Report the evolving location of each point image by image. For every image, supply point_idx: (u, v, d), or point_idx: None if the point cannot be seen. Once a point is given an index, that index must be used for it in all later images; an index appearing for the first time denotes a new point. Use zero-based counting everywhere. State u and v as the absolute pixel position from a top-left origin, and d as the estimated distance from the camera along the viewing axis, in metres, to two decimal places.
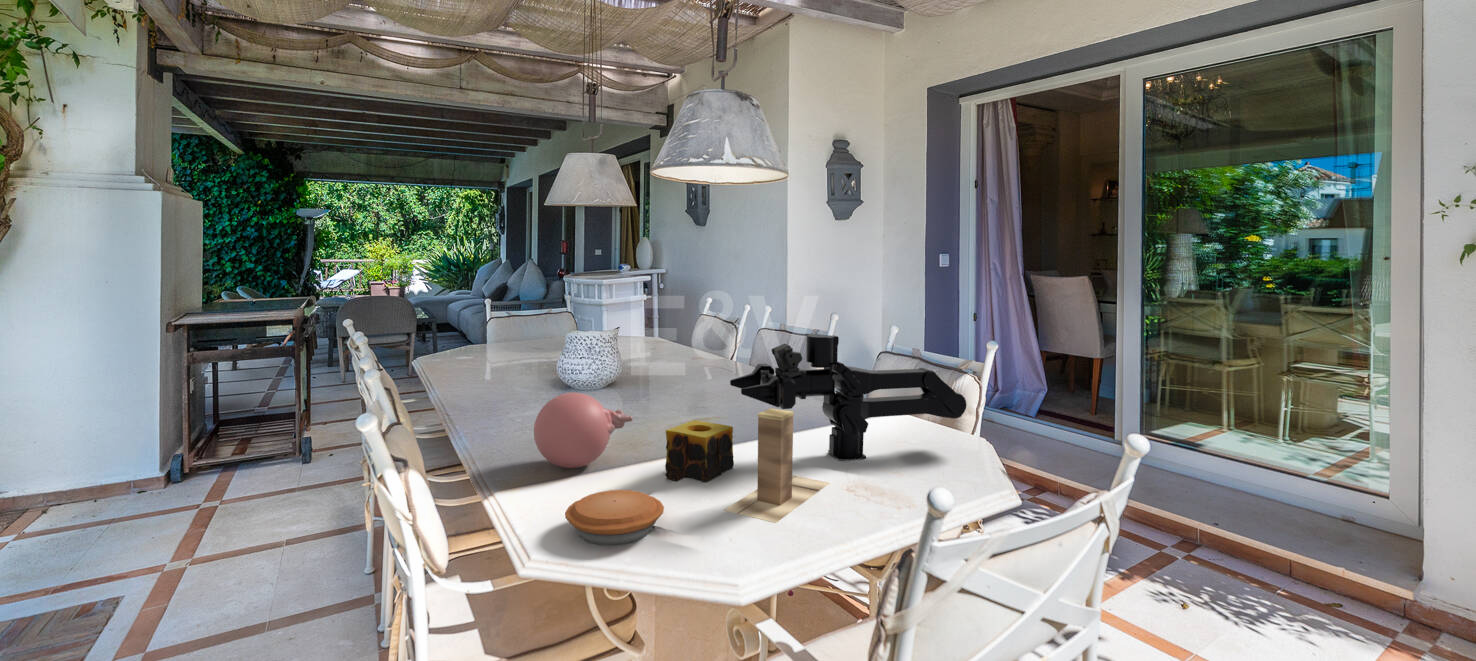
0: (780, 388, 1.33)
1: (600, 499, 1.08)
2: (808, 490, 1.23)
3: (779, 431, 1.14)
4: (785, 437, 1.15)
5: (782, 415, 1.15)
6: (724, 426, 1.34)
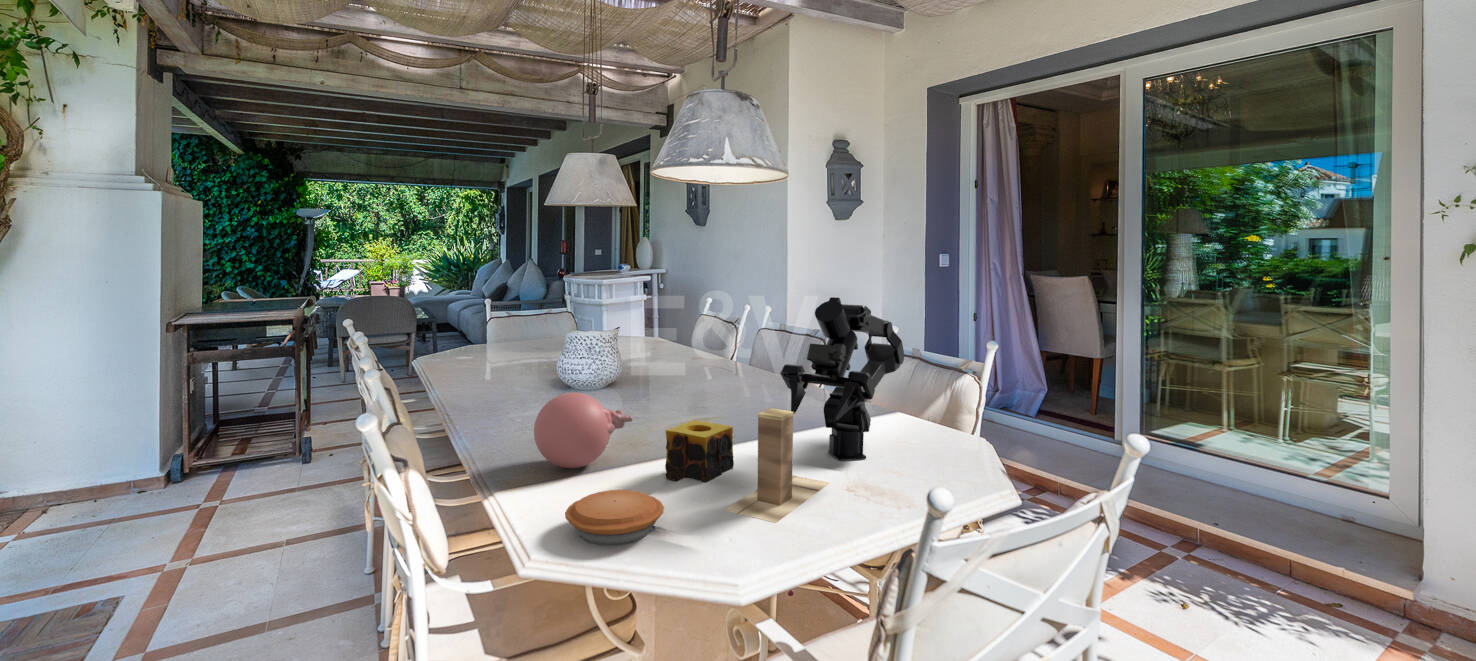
0: (861, 388, 1.30)
1: (600, 499, 1.08)
2: (808, 490, 1.23)
3: (779, 431, 1.14)
4: (785, 437, 1.15)
5: (782, 415, 1.15)
6: (724, 426, 1.34)
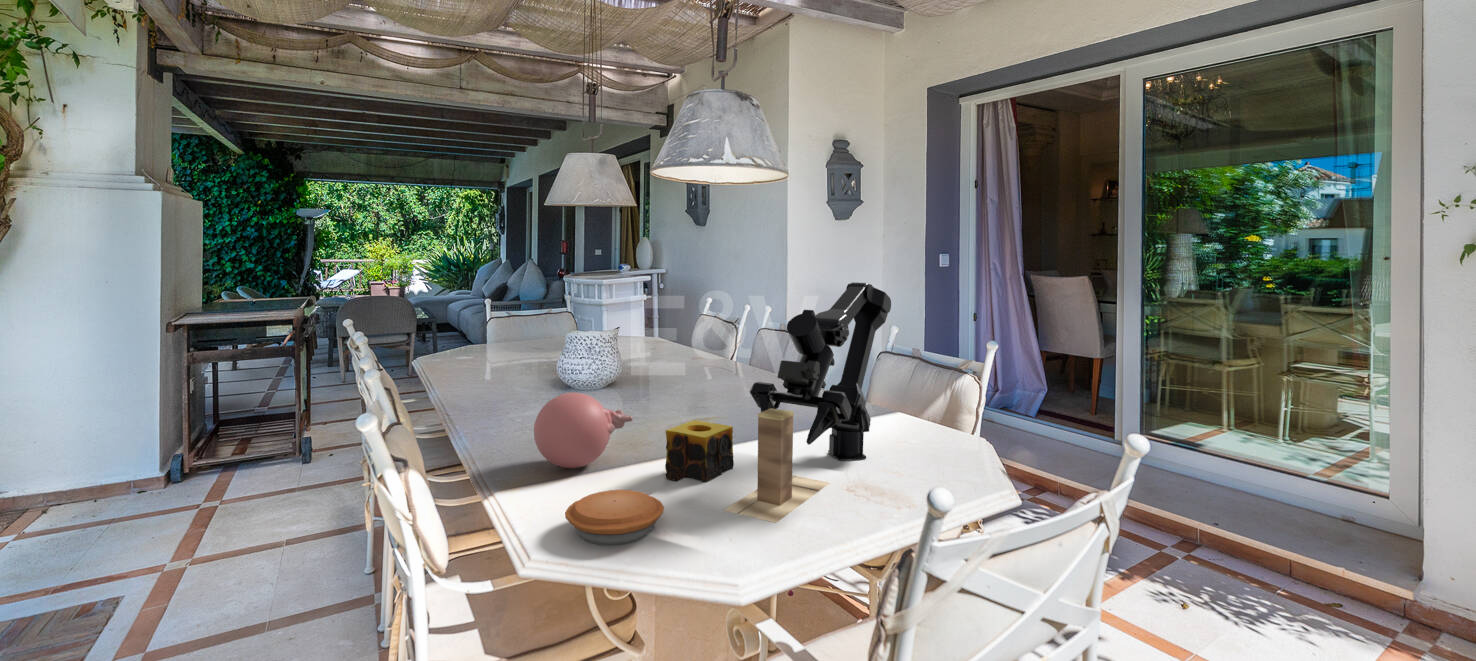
0: (836, 409, 1.19)
1: (600, 499, 1.08)
2: (808, 490, 1.23)
3: (779, 431, 1.14)
4: (785, 437, 1.15)
5: (782, 415, 1.15)
6: (724, 426, 1.34)
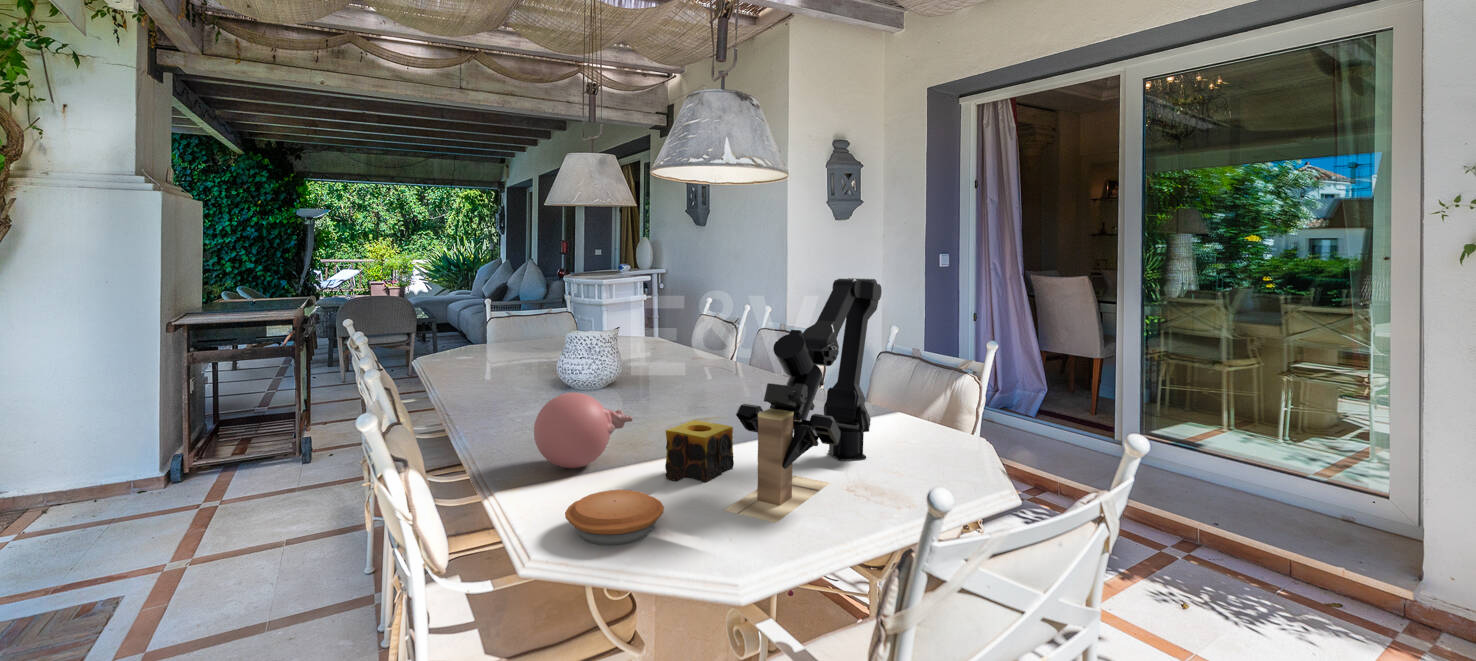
0: (813, 431, 1.17)
1: (600, 499, 1.08)
2: (808, 490, 1.23)
3: (779, 431, 1.14)
4: (785, 437, 1.15)
5: (782, 415, 1.15)
6: (724, 426, 1.34)
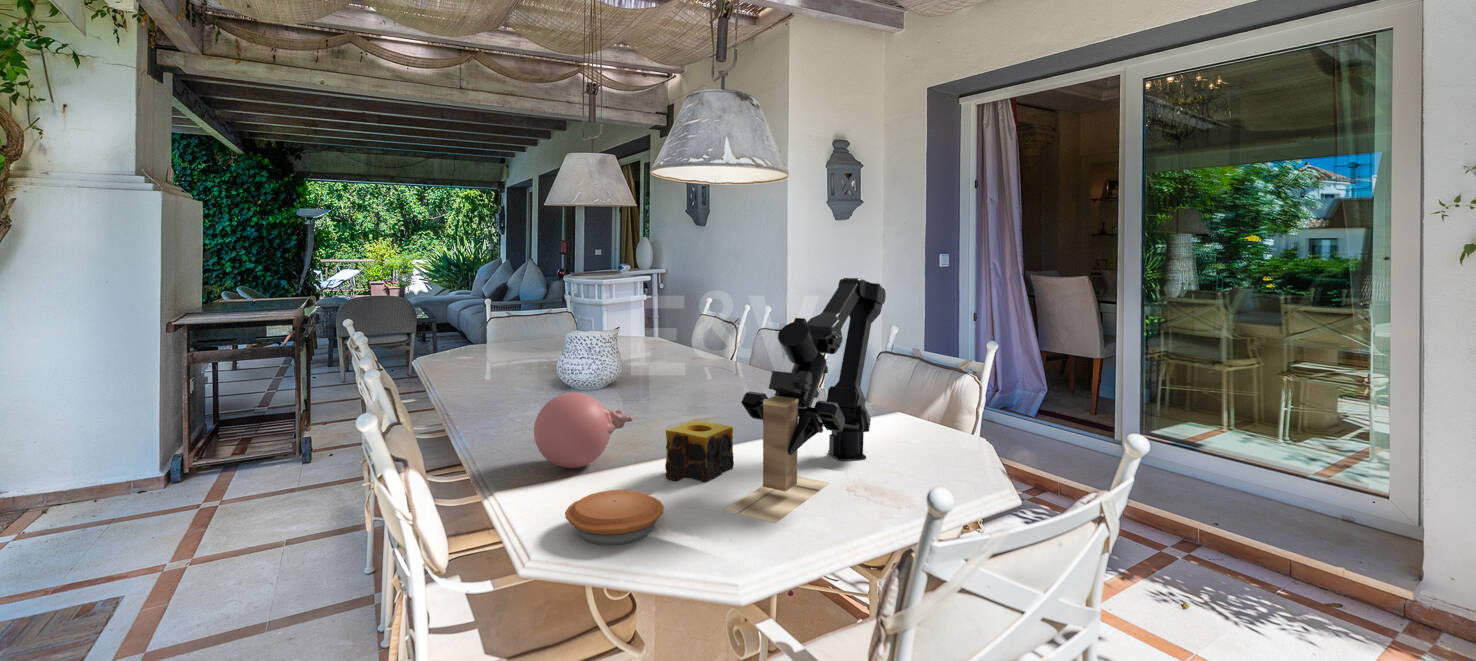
0: (817, 418, 1.18)
1: (600, 499, 1.08)
2: (808, 490, 1.23)
3: (784, 418, 1.15)
4: (790, 424, 1.17)
5: (787, 402, 1.16)
6: (724, 426, 1.34)
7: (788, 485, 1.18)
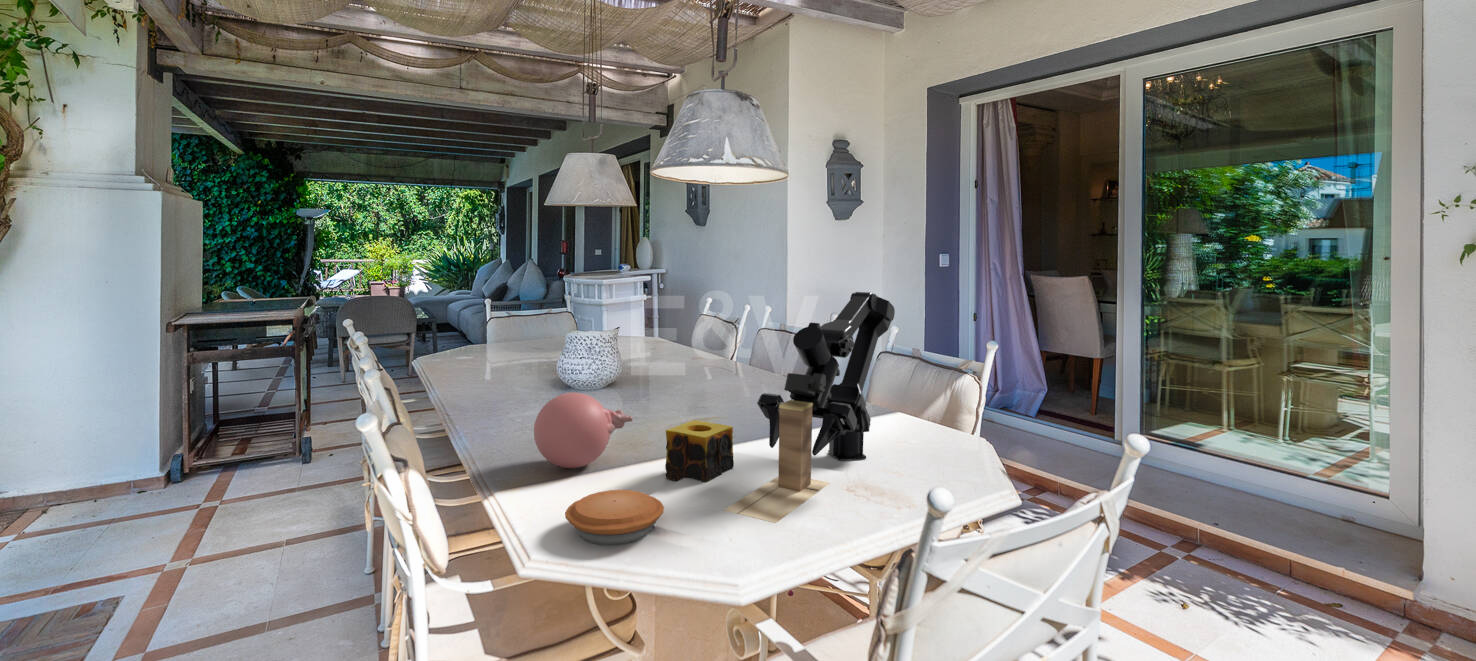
0: (841, 420, 1.22)
1: (600, 499, 1.08)
2: (808, 490, 1.23)
3: (799, 421, 1.21)
4: (805, 427, 1.22)
5: (802, 406, 1.21)
6: (724, 426, 1.34)
7: (802, 485, 1.23)
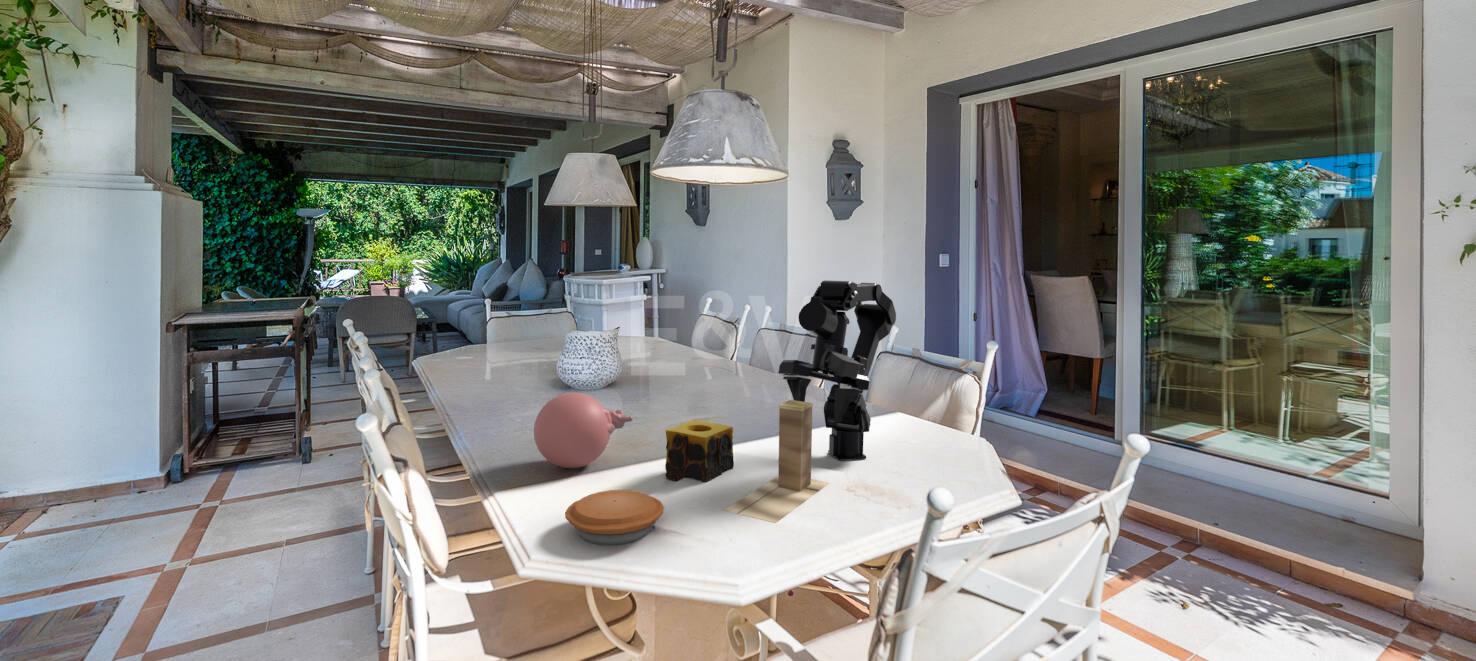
0: None
1: (600, 499, 1.08)
2: (808, 490, 1.23)
3: (799, 421, 1.21)
4: (805, 427, 1.22)
5: (802, 406, 1.21)
6: (724, 426, 1.34)
7: (802, 485, 1.23)
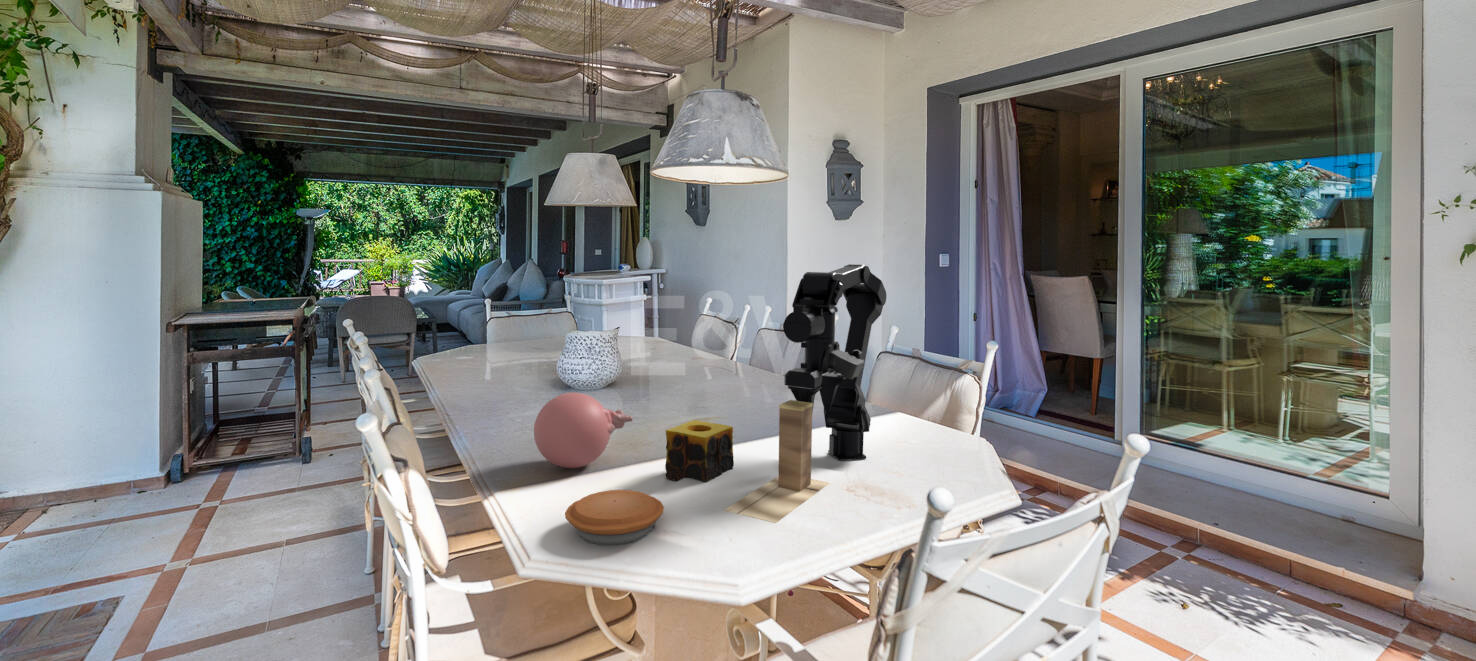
0: None
1: (600, 499, 1.08)
2: (808, 490, 1.23)
3: (799, 421, 1.21)
4: (805, 427, 1.22)
5: (802, 406, 1.21)
6: (724, 426, 1.34)
7: (802, 485, 1.23)
